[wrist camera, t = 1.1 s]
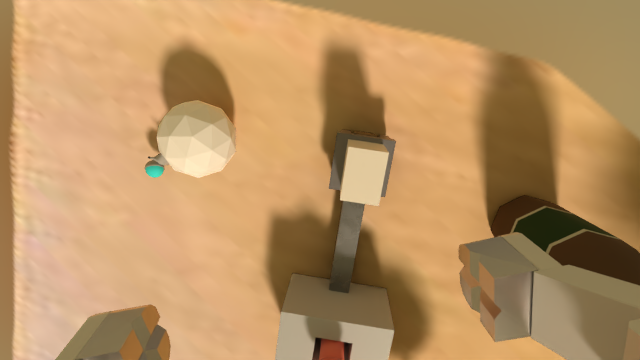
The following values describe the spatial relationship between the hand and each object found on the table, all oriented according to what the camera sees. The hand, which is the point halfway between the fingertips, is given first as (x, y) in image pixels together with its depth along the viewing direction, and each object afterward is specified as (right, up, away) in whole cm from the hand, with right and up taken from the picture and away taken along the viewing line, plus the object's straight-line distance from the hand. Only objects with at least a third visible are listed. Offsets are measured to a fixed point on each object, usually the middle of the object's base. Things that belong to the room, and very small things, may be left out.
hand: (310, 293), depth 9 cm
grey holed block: (+2, -14, +36) cm, 39 cm away
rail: (+4, -1, +33) cm, 33 cm away
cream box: (+5, +6, +31) cm, 32 cm away
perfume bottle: (-14, +7, +32) cm, 36 cm away
